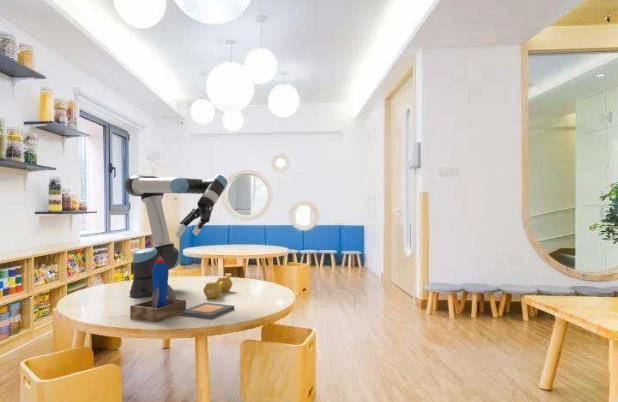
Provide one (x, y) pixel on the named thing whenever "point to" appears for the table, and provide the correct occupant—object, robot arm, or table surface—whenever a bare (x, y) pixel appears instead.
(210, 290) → the dumbbell
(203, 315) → the pad
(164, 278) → the toy rocket
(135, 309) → the wooden tray
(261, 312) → the table surface
